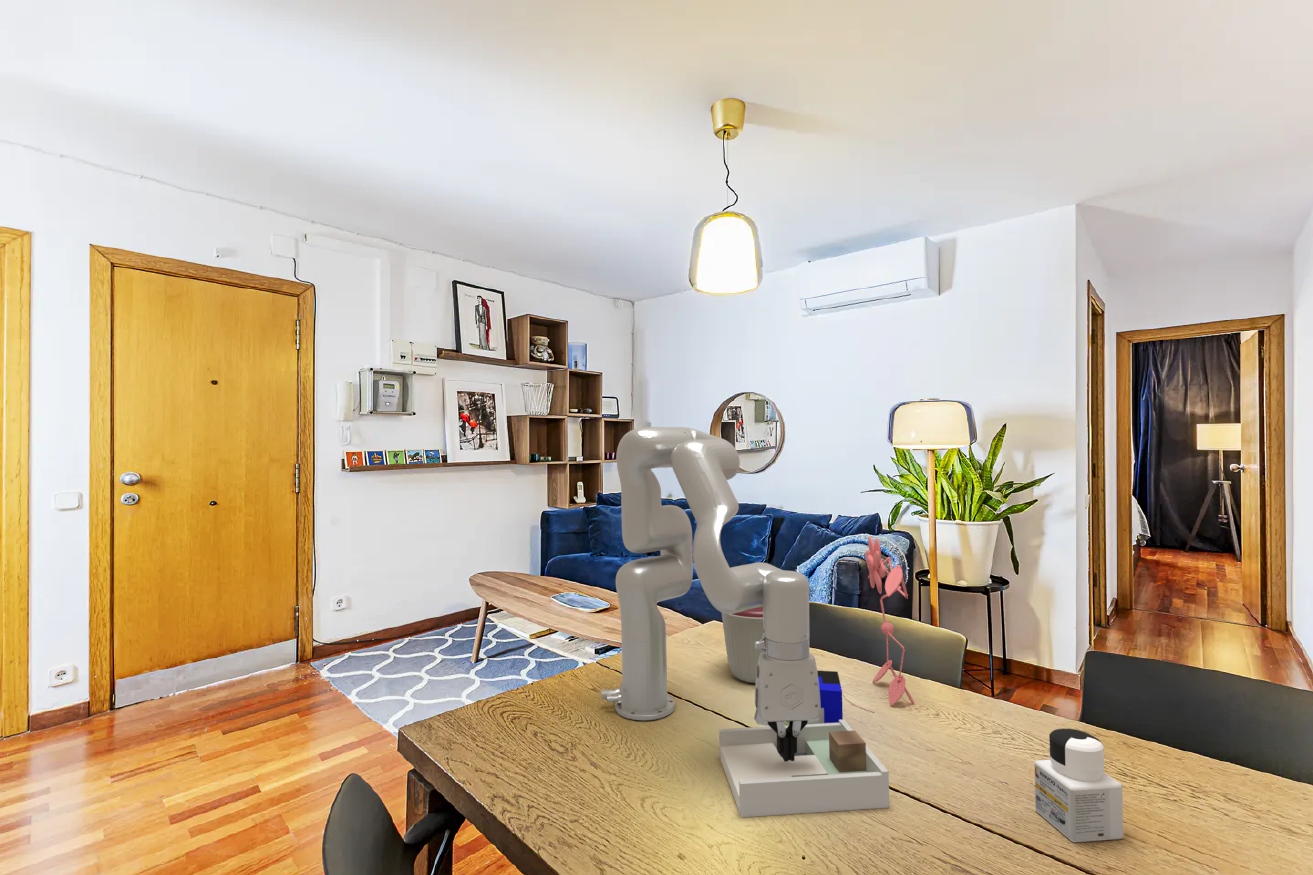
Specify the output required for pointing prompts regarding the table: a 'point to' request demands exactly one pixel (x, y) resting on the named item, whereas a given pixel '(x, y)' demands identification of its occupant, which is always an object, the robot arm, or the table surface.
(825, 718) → the puzzle toy
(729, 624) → the canister
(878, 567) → the figurine
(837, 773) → the tray
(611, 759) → the table surface
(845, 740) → the walnut block
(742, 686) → the table surface
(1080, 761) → the container
